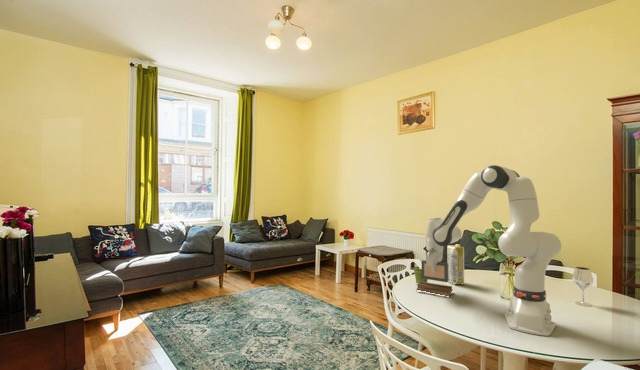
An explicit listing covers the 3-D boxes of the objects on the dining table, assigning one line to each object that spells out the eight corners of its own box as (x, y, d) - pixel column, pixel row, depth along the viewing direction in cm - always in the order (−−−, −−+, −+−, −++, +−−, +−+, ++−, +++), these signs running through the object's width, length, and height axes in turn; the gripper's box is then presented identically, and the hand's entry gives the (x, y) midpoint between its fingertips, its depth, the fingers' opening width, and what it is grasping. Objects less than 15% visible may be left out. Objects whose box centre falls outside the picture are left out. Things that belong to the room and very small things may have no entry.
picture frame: (447, 282, 177) (447, 264, 177) (421, 278, 185) (421, 260, 185) (448, 281, 179) (448, 263, 179) (422, 277, 187) (422, 260, 187)
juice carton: (466, 285, 196) (466, 245, 196) (454, 285, 194) (454, 245, 195) (456, 280, 205) (456, 242, 205) (445, 281, 203) (445, 243, 204)
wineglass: (597, 307, 159) (597, 270, 159) (578, 306, 161) (578, 269, 161) (587, 301, 167) (586, 266, 167) (569, 300, 169) (569, 266, 169)
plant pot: (411, 282, 200) (411, 268, 200) (425, 282, 201) (425, 268, 201) (417, 287, 191) (417, 272, 191) (432, 286, 192) (432, 272, 192)
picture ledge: (448, 297, 172) (448, 290, 172) (416, 291, 182) (416, 284, 182) (452, 292, 181) (452, 285, 181) (421, 287, 190) (421, 280, 190)
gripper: (435, 250, 171) (435, 276, 171) (444, 244, 188) (444, 268, 188) (423, 249, 175) (423, 274, 175) (433, 243, 192) (433, 267, 192)
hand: (434, 271), depth 182 cm, fingers closed on picture frame, 3 cm apart
